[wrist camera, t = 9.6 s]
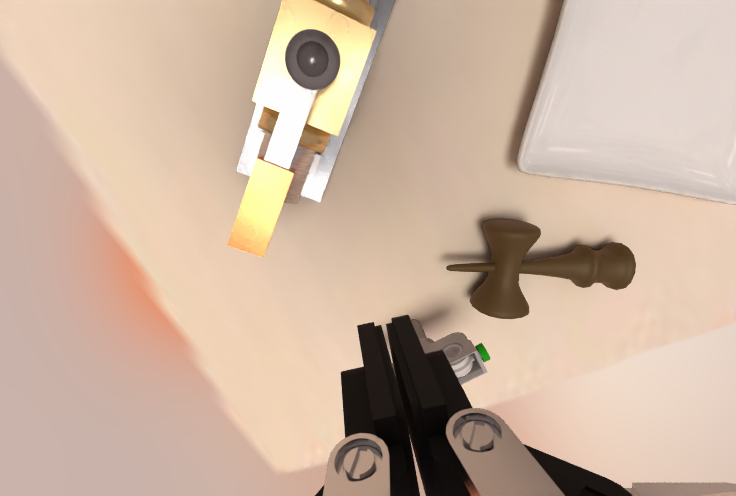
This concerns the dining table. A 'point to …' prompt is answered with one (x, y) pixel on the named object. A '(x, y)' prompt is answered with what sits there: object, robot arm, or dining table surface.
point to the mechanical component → (456, 353)
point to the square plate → (639, 98)
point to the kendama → (539, 267)
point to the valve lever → (284, 139)
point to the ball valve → (332, 105)
